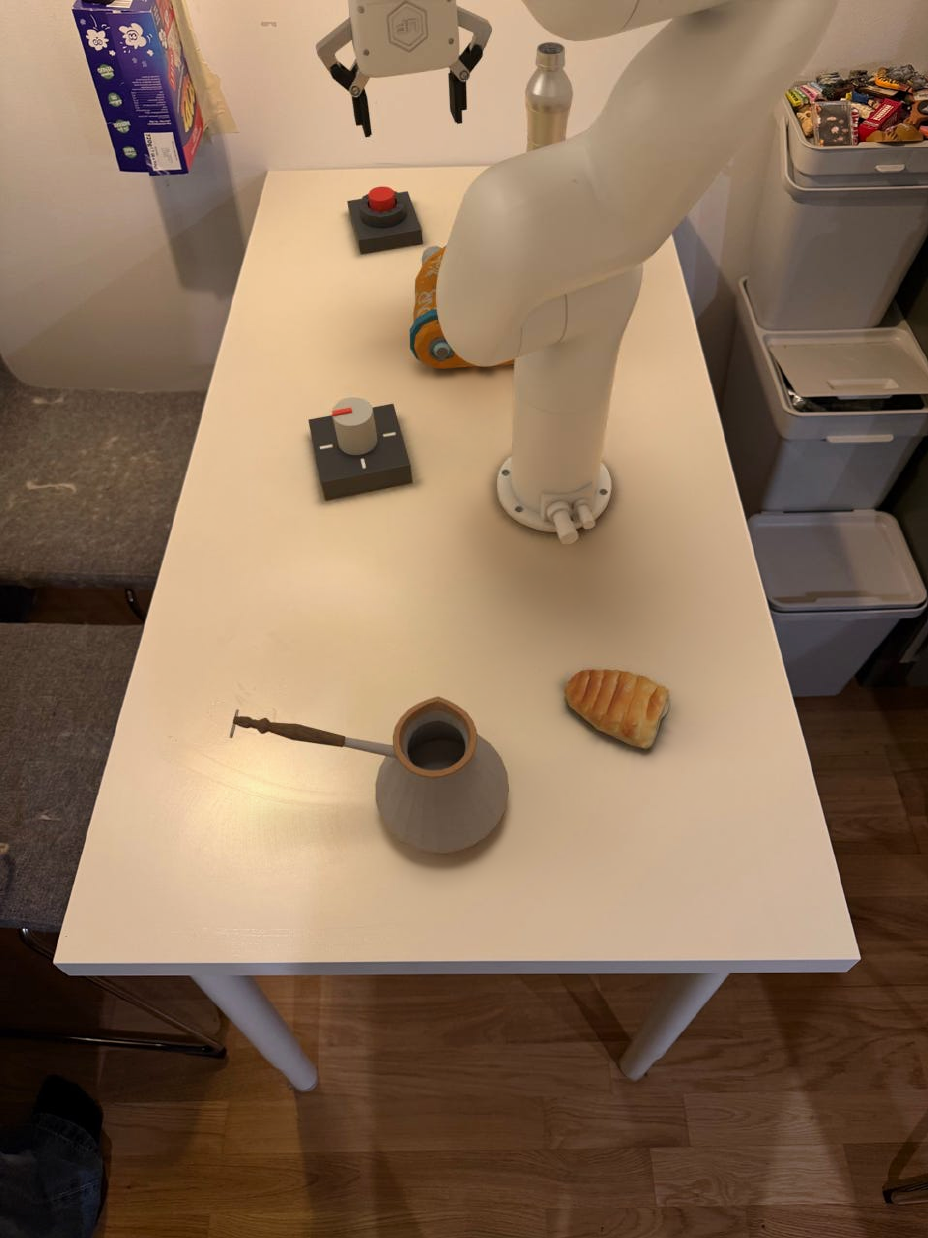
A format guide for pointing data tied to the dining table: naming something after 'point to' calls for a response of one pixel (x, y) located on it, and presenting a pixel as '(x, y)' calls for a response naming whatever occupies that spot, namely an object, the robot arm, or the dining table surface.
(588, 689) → the pastry
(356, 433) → the timer knob
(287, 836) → the dining table surface
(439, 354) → the device
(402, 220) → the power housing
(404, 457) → the timer panel
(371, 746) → the coffee pot
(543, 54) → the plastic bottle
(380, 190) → the power button
